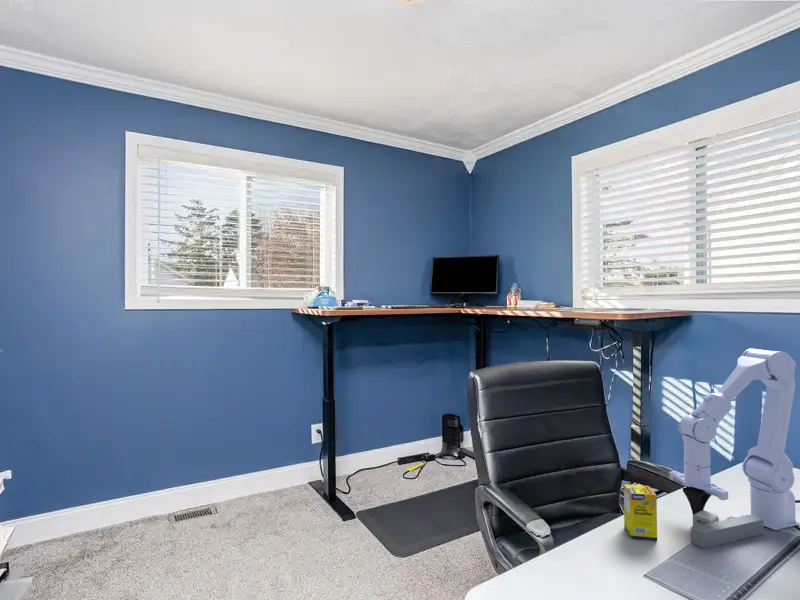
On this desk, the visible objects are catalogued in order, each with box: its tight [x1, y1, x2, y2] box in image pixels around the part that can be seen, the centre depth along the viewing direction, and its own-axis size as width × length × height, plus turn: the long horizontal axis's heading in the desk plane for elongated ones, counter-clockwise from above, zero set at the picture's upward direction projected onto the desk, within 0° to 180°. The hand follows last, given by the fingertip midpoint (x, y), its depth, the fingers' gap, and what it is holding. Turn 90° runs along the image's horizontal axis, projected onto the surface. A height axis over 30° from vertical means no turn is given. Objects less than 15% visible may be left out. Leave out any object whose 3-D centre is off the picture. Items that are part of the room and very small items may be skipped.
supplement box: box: [623, 484, 658, 542], centre depth 112 cm, size 6×6×11 cm
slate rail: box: [690, 514, 765, 549], centre depth 110 cm, size 20×3×4 cm, turn 109°
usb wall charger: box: [692, 509, 720, 527], centre depth 114 cm, size 4×7×4 cm, turn 124°
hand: (697, 517), depth 117 cm, fingers closed
